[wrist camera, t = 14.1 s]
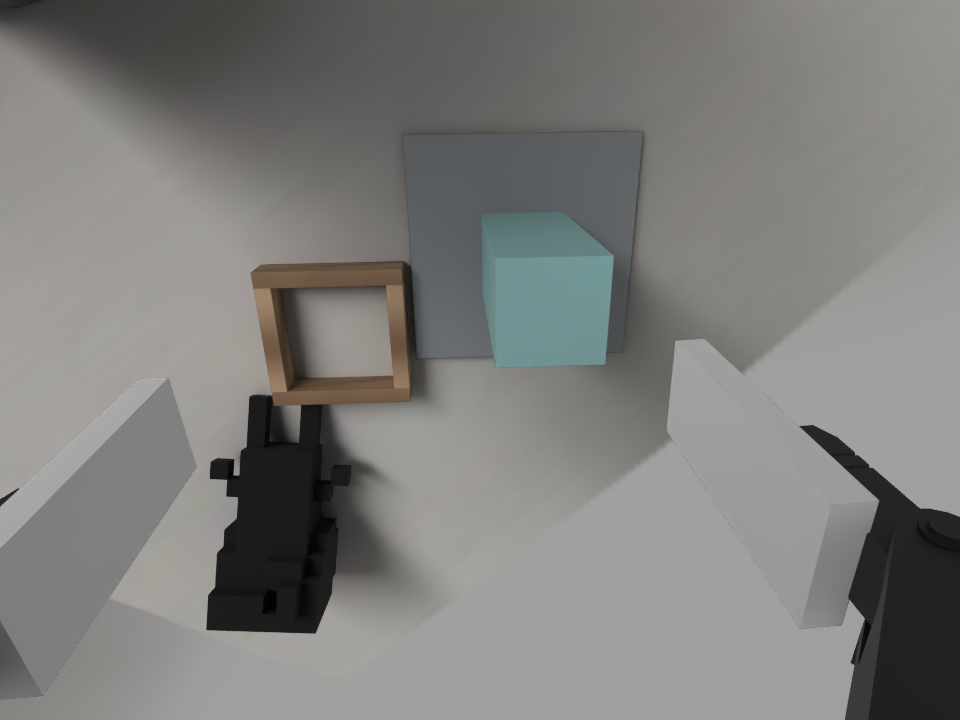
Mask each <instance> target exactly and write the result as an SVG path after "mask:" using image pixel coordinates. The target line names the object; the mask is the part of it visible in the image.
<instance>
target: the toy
mask: <svg viewBox="0 0 960 720" xmlns="http://www.w3.org/2000/svg"><path fill="white" fill-rule="evenodd" d="M271 403H272V398H271V396H265V395H252V396H250V398H249V415H248V433H247V447H246V448H244V449H243V450H241V457H240V475H239V476H233V473H234V459H221V458H217V459H215V460H213V461H212V462H211V466H210V479H223V480H227V495H226V497H238V511H237V519H236V520H235V521H234V522H233V523H231V524H230V525H229V526H228V527H227V528H226V529H225V531H224V547H223V548H222V549H221V550H220V551H219V552H218V553H217V565H216V583H215V588H214V589H213V590H212V591H211V593H210V594H209V595H208V610H207V629H206V630H218V631H250V632H283V633H315V634H316V631H317V629H318V626H319V624H320V621H321V619H322V616H323V614H324V611H325V609H326V606H327V604H328V601H329V599H330V596H331V594H332V580H333V576H334V574H335V569H336V554H337V538H338V528H336V518H324V513H321V507H322V502H319V501H328V502H330V500H331V499H332V497H333V486H334V485H339V486H348V485H349V483H350V478H351V466H350V465H334V466H333V468H332V474H331V481H329V480H320V477H321V461H322V445H323V444H320V428H321V411H322V404H314V405H301V419H300V436H299V443H289V442H271V441H269V437H270V420H271Z"/></svg>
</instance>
